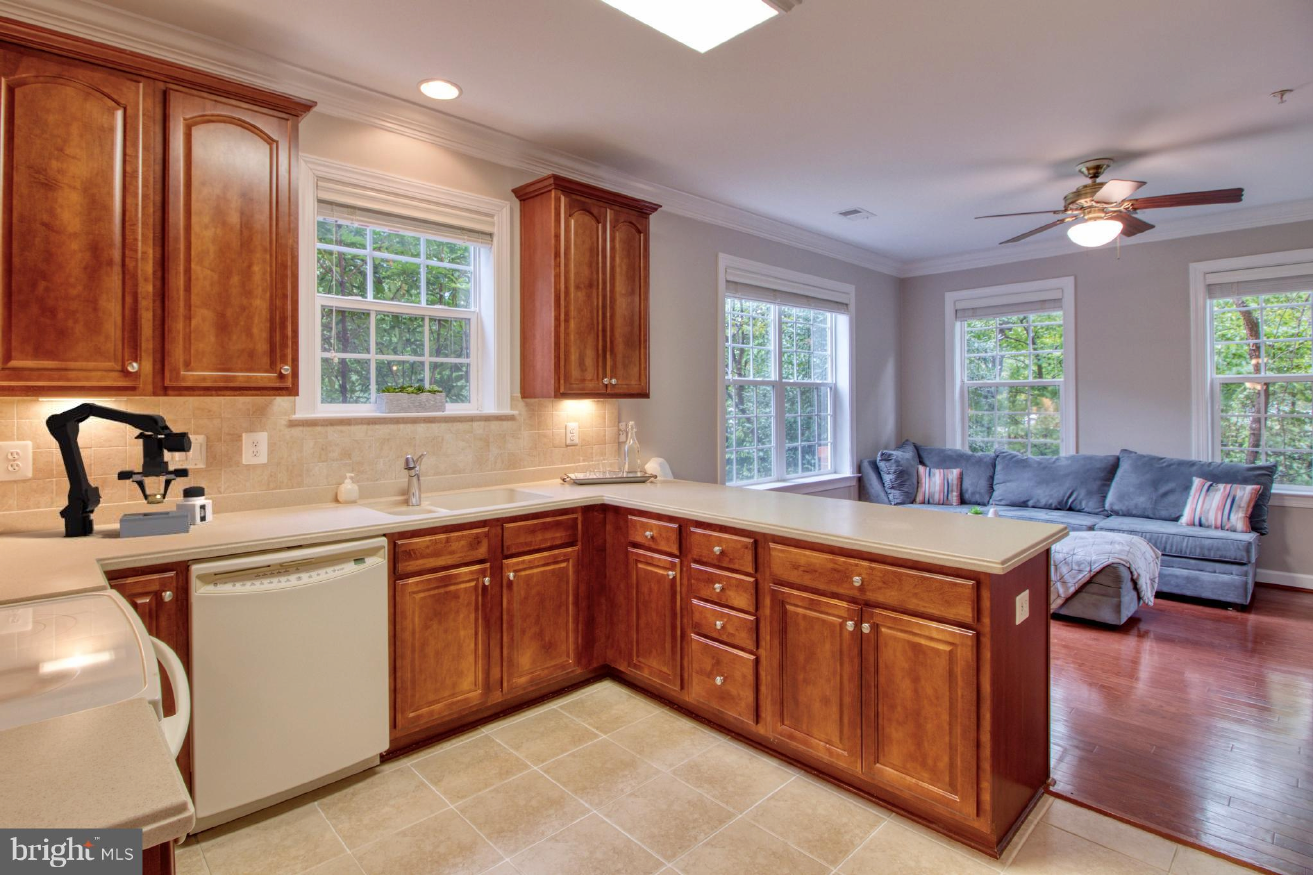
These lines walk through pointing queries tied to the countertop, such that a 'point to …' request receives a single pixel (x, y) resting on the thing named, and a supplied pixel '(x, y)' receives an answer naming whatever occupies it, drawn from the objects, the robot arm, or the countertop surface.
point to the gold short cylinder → (155, 498)
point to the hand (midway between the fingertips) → (155, 499)
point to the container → (196, 505)
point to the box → (154, 523)
